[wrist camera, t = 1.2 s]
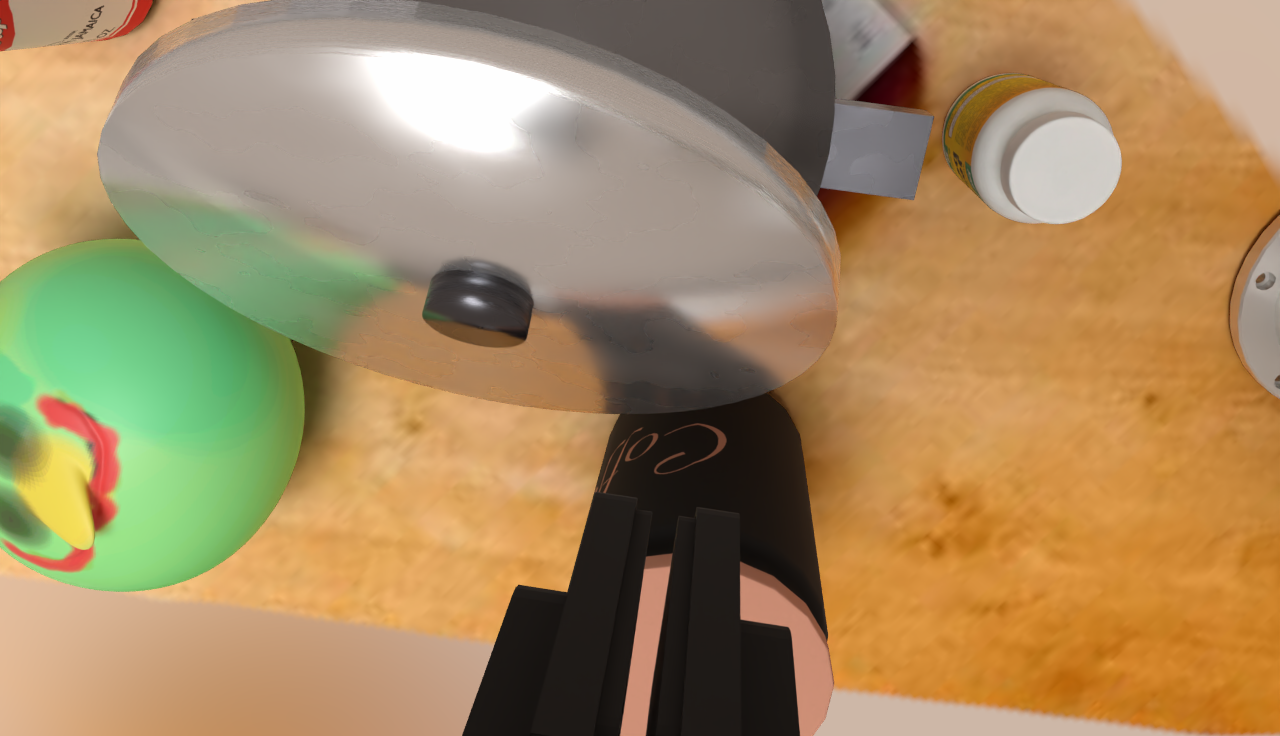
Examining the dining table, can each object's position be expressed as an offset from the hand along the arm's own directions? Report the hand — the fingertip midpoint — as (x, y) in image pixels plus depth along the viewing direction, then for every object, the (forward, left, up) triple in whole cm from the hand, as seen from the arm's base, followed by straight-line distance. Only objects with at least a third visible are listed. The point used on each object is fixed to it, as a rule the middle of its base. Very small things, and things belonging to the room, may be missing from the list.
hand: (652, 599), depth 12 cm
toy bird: (+27, +16, -35) cm, 47 cm away
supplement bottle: (-13, -2, -35) cm, 38 cm away
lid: (+6, +1, -16) cm, 17 cm away
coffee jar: (-2, +17, -35) cm, 39 cm away
